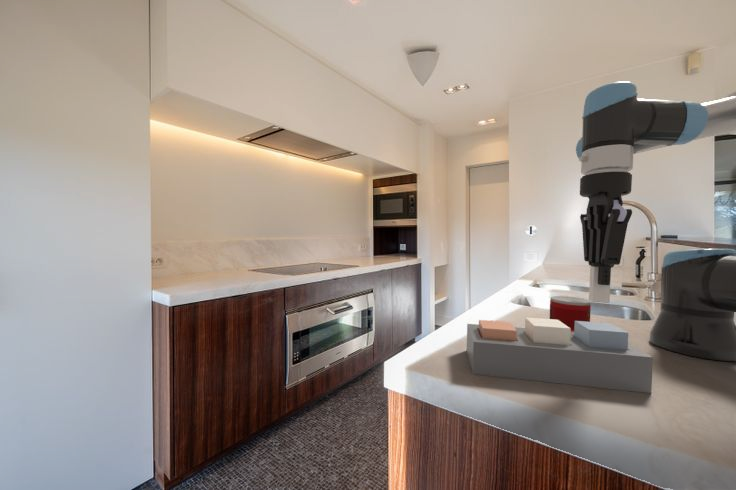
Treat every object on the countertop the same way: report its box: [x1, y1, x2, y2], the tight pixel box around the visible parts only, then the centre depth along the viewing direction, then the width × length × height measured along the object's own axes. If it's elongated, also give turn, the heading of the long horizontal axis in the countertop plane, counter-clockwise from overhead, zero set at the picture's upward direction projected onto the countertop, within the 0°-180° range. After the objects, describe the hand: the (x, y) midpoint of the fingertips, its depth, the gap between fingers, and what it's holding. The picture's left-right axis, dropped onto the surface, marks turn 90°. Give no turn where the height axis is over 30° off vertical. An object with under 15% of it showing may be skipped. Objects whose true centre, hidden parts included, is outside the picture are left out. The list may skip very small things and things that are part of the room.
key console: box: [466, 323, 654, 394], centre depth 59 cm, size 28×12×6 cm, turn 77°
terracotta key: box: [478, 319, 517, 341], centre depth 61 cm, size 6×6×5 cm
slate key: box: [574, 321, 629, 350], centre depth 57 cm, size 6×6×5 cm
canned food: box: [549, 295, 591, 332], centre depth 73 cm, size 8×8×11 cm
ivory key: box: [524, 317, 571, 345], centre depth 59 cm, size 6×6×5 cm
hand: (598, 301), depth 57 cm, fingers closed
